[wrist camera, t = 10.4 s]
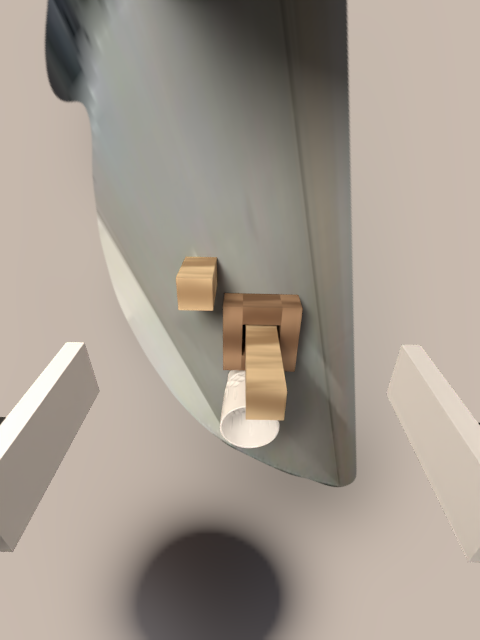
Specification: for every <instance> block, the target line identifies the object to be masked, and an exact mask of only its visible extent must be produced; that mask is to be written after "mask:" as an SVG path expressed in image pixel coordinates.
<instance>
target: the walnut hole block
mask: <svg viewBox="0 0 480 640" xmlns="http://www.w3.org/2000/svg"><path fill="white" fill-rule="evenodd" d="M302 310H303V308H302V305H301V302H300V299H299V296H298V295H282V294H240V293H225V294H224V302H223V370H245V340H242V324H248V325H277V332H278V338H279V345H280V351H281V357H282V363H283V369H284V371H290V372H294V371H295V364H296V356H297V348H298V341H299V333H300V325H301V318H302Z"/></svg>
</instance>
